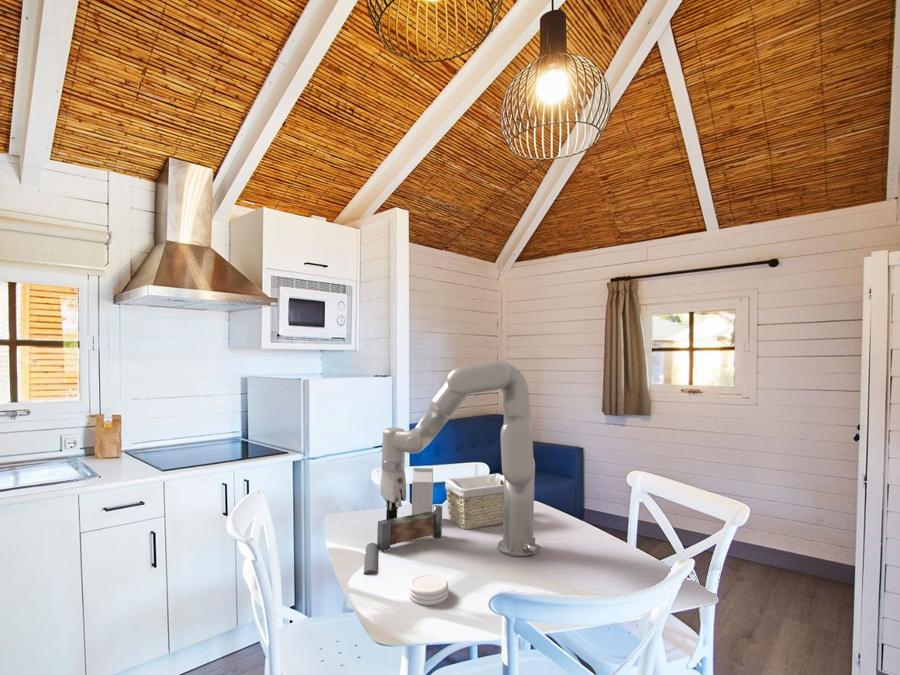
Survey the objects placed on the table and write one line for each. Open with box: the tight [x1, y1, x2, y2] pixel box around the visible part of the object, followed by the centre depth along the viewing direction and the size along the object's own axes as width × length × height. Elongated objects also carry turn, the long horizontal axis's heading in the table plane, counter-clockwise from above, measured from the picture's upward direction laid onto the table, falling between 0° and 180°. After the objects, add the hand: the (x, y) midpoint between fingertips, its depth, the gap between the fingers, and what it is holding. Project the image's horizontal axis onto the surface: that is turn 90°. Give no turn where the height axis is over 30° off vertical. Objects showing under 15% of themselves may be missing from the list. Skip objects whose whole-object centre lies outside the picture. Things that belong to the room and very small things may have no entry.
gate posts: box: [376, 504, 443, 552], centre depth 161 cm, size 3×23×10 cm, turn 125°
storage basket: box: [444, 473, 504, 530], centre depth 184 cm, size 24×16×15 cm
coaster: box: [408, 574, 449, 606], centre depth 127 cm, size 10×10×4 cm
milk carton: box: [411, 467, 434, 515], centre depth 182 cm, size 7×7×19 cm
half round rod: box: [363, 542, 379, 575], centre depth 148 cm, size 4×20×2 cm, turn 8°
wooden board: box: [389, 510, 434, 546], centre depth 161 cm, size 16×2×7 cm, turn 125°
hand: (391, 520), depth 166 cm, fingers closed
